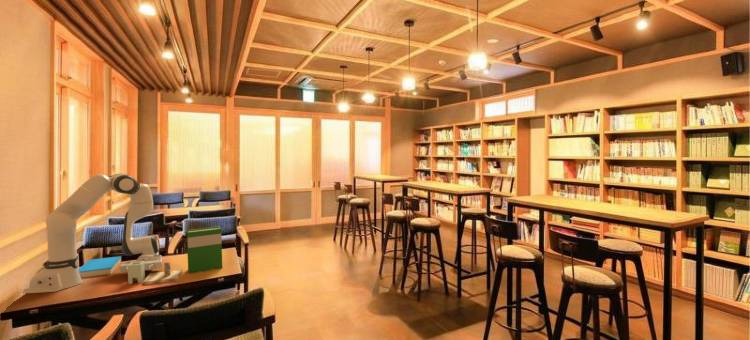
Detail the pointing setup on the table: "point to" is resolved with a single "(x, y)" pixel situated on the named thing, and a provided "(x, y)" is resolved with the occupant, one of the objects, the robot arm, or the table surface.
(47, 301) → the table surface
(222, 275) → the table surface
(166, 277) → the post board
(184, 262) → the table surface
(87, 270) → the book
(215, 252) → the hardback book
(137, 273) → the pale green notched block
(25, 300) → the table surface
